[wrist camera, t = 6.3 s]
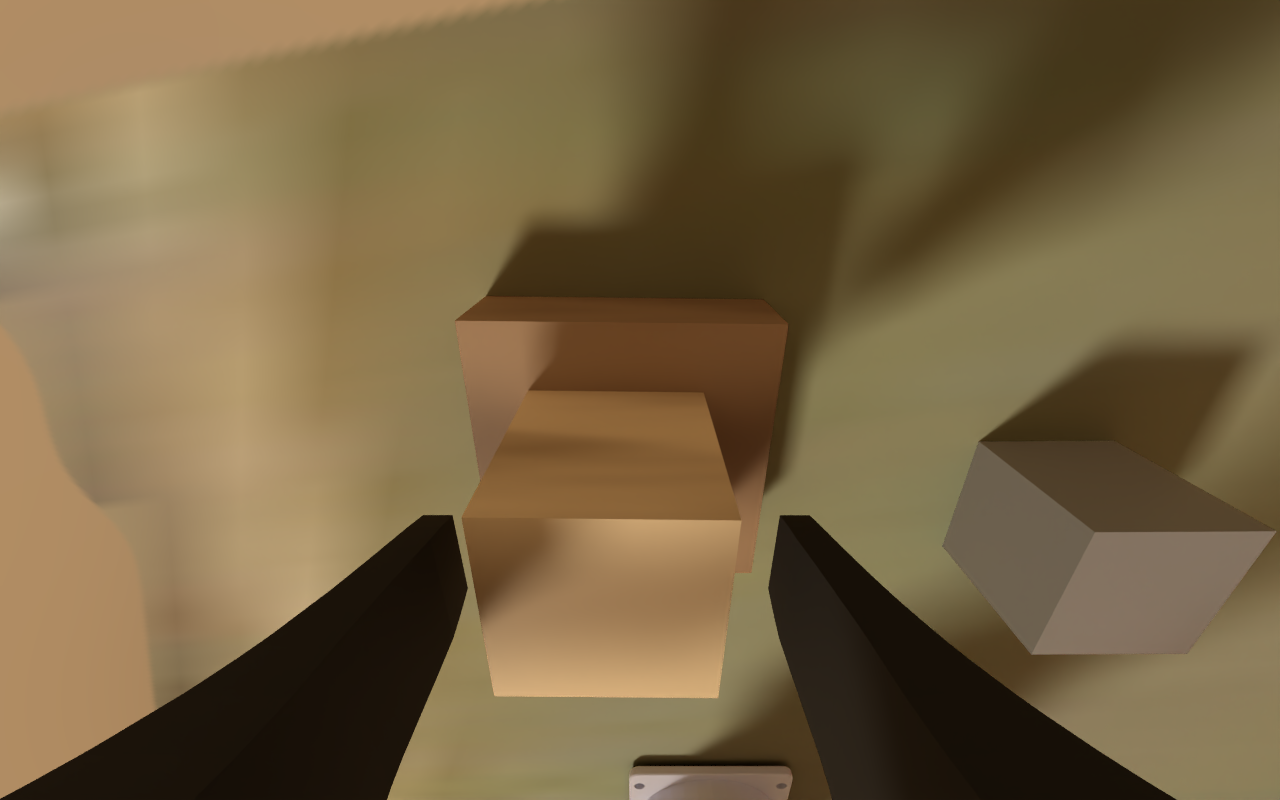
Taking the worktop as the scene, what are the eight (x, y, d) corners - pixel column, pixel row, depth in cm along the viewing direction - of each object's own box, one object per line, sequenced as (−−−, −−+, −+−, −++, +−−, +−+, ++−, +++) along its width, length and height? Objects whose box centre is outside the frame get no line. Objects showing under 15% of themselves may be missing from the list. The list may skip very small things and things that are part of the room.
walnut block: (733, 511, 18) (751, 572, 15) (517, 509, 17) (494, 571, 15) (759, 295, 14) (788, 324, 11) (490, 292, 14) (454, 320, 11)
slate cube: (1061, 543, 18) (1187, 653, 14) (941, 544, 18) (1031, 654, 14) (1112, 439, 16) (1277, 531, 12) (977, 440, 16) (1094, 532, 12)
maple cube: (692, 530, 14) (717, 697, 10) (541, 528, 14) (494, 696, 10) (703, 392, 12) (741, 520, 8) (527, 390, 12) (461, 517, 8)
